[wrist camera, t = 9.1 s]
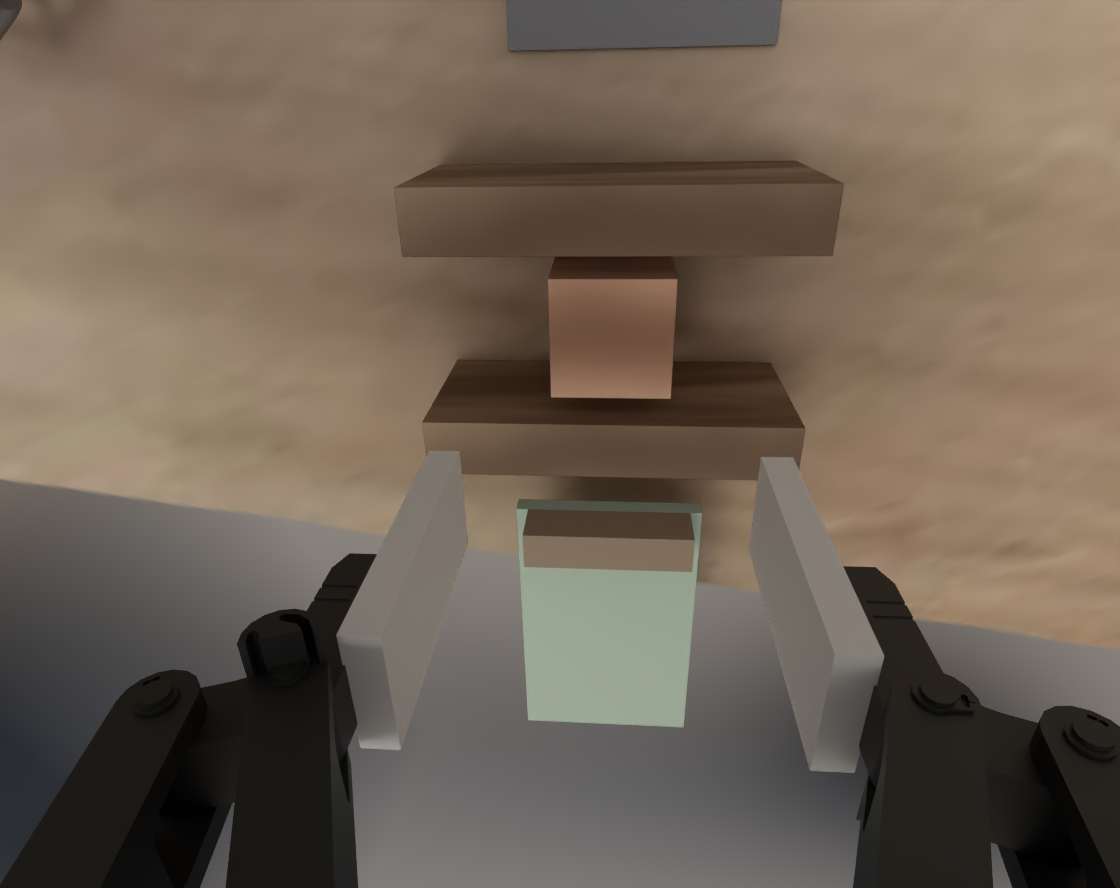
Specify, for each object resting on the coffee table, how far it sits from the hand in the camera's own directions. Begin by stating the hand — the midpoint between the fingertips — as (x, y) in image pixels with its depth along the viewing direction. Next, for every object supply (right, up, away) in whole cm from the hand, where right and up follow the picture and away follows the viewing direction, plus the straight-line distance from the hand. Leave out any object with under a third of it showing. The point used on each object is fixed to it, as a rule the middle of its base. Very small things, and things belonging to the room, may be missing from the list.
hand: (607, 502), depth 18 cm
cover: (+1, -7, +16) cm, 18 cm away
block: (+1, +9, +17) cm, 19 cm away
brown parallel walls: (+1, +9, +17) cm, 19 cm away
